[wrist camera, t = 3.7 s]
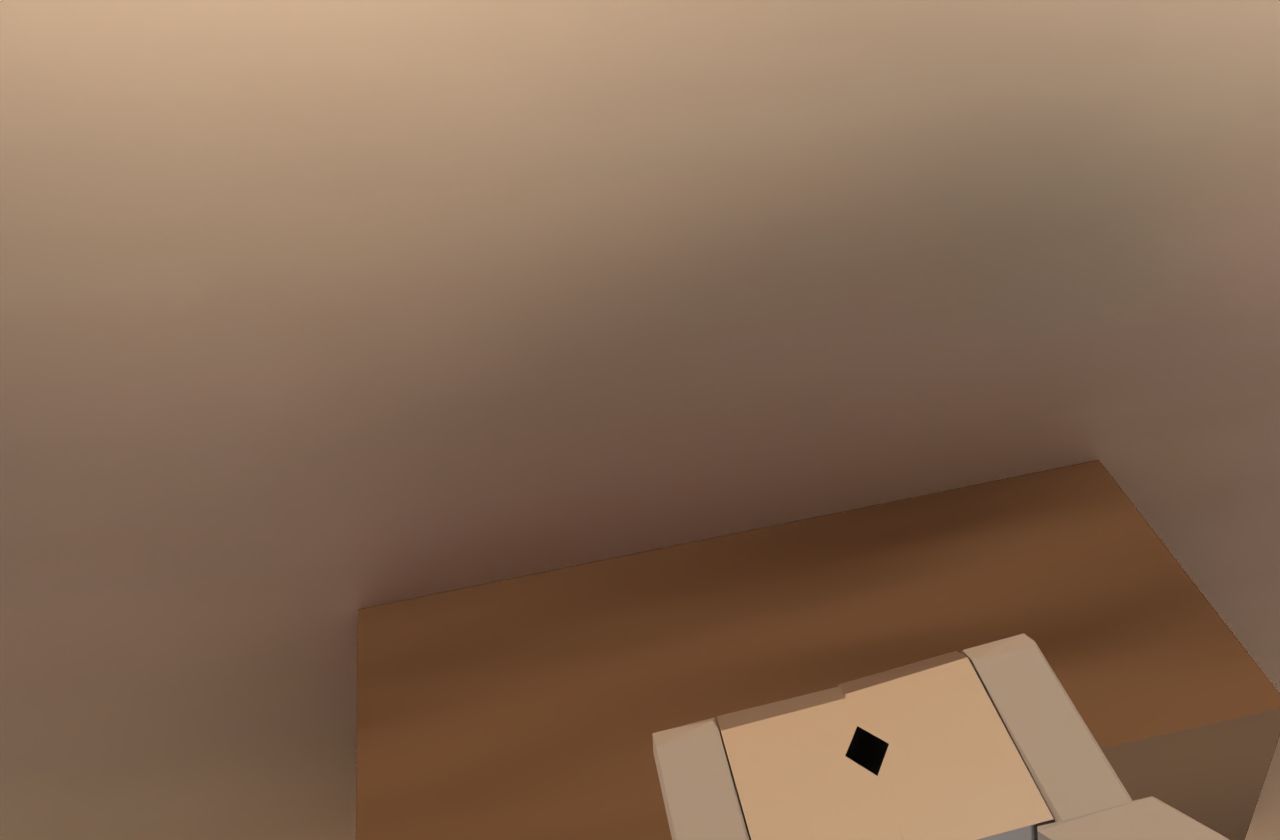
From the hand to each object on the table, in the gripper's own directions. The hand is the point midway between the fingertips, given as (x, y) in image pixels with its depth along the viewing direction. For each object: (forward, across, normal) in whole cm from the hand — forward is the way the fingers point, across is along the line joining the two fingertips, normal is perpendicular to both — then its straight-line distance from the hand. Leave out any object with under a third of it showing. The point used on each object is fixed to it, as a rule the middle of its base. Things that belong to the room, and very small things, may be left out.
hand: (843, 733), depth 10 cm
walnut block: (+8, 0, +8) cm, 11 cm away
